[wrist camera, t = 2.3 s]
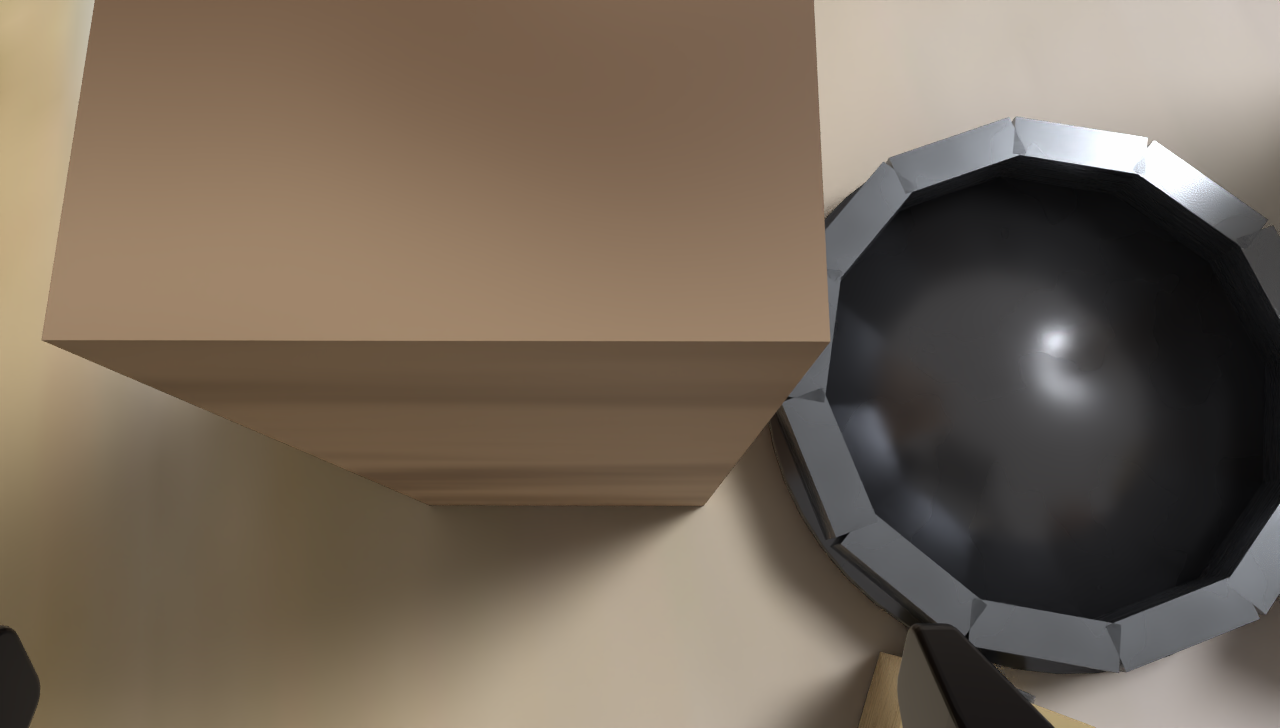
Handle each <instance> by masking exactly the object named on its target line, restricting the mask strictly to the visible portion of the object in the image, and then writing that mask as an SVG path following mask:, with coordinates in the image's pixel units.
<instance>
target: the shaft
mask: <svg viewBox="0 0 1280 728" xmlns="http://www.w3.org/2000/svg"><path fill="white" fill-rule="evenodd" d="M901 660H902V657H899V656H895V655H890V654H886V653H882V652H880V654H879V657H878V661H877V664H876V668H875V671H874V674H873V678H872V681H871V685H870V688H869V692H868V695H867V698H866V702H865V705H864V709H863V712H862V716H861V719H860V722H859V726H858V728H903V726H902V720H901V715H900V709H899V703H898V695H897V680H898V674H899V670H900V665H901ZM1016 689H1017V688H1016ZM1017 690H1018V691H1019V692H1020V693H1021V694H1022V695H1023V696H1024V697H1025V698H1026V699H1027V700H1028V701H1029V702H1030V703H1031V704H1032V705H1033V706H1034V707H1035V708H1036V709H1037V710H1038V711H1039V712H1040V713H1041V714H1042V715H1043V716H1044V717H1045V718H1046V719H1047V720H1048V721H1049V722H1050V723H1051V724H1052V725H1053V726H1054V727H1055V728H1096V727H1093V726H1091V725H1088V724H1085V723H1083V722H1080V721H1077V720H1075V719H1072V718H1069V717H1067V716H1064V715H1061V714H1059V713H1056V712H1053V711H1051V710H1048V709H1045V708H1042V707H1040V706H1037V705H1034V701H1035V696H1033V695H1031V694H1029V693H1026V692H1024V691H1022V690H1019V689H1017Z"/></svg>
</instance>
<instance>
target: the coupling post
mask: <svg viewBox="0 0 1280 728" xmlns="http://www.w3.org/2000/svg"><path fill="white" fill-rule="evenodd" d="M42 340H43V341H45V342H47V343H50V344H52V345H54V346H57V347H59V348H61V349H64V350H66V351H68V352H71V353H73V354H75V355H78V356H80V357H82V358H85V359H87V360H90V361H92V362H94V363H97V364H99V365H101V366H104V367H106V368H108V369H111V370H113V371H115V372H118V373H120V374H122V375H125V376H127V377H129V378H132V379H134V380H137V381H139V382H141V383H144V384H146V385H148V386H151V387H153V388H155V389H158V390H160V391H162V392H165V393H167V394H169V395H172V396H174V397H176V398H179V399H181V400H184V401H186V402H188V403H191V404H193V405H195V406H198V407H200V408H202V409H205V410H207V411H209V412H212V413H214V414H216V415H219V416H221V417H223V418H226V419H228V420H230V421H233V422H235V423H238V424H240V425H242V426H245V427H247V428H249V429H252V430H254V431H256V432H259V433H261V434H263V435H266V436H268V437H270V438H273V439H275V440H277V441H280V442H282V443H285V444H287V445H289V446H292V447H294V448H296V449H299V450H301V451H303V452H306V453H308V454H310V455H313V456H315V457H317V458H320V459H322V460H324V461H327V462H329V463H331V464H334V465H336V466H339V467H341V468H343V469H346V470H348V471H350V472H353V473H355V474H357V475H360V476H362V477H364V478H367V479H369V480H371V481H374V482H376V483H378V484H381V485H383V486H386V487H388V488H390V489H393V490H395V491H397V492H400V493H402V494H404V495H407V496H409V497H411V498H414V499H416V500H418V501H421V502H423V503H425V504H428V505H501V506H704V505H705V503H706V502H707V501H708V500H709V498H710V497H711V496H712V494H713V493H714V492H715V490H716V489H717V488H718V487H719V485H720V484H721V483H722V481H723V480H724V479H725V477H726V476H727V475H728V474H729V472H730V471H731V470H732V468H733V467H734V466H735V465H736V463H737V462H738V461H739V459H740V458H741V457H742V455H743V454H744V453H745V452H746V450H747V449H748V448H749V446H750V445H751V444H752V442H753V441H754V440H755V439H756V437H757V436H758V435H759V433H760V432H761V431H762V430H763V428H764V427H765V426H766V424H767V423H768V422H769V420H770V419H771V418H772V417H773V415H774V414H775V413H776V411H777V410H778V409H779V407H780V406H781V405H782V404H783V402H784V401H785V400H786V398H787V397H788V396H789V395H790V393H791V392H792V391H793V389H794V388H795V387H796V385H797V384H798V383H799V382H800V380H801V379H802V378H803V376H804V375H805V374H806V372H807V371H808V370H809V369H810V367H811V366H812V365H813V363H814V362H815V361H816V360H817V358H818V357H819V356H820V354H821V353H822V352H823V350H824V349H825V348H826V347H827V345H828V344H829V343H830V324H829V303H828V283H827V262H826V242H825V221H824V201H823V180H822V160H821V139H820V119H819V98H818V78H817V57H816V37H815V16H814V0H95V3H94V10H93V16H92V22H91V29H90V35H89V41H88V48H87V54H86V61H85V67H84V73H83V80H82V86H81V92H80V99H79V105H78V111H77V118H76V124H75V131H74V137H73V143H72V150H71V156H70V162H69V169H68V175H67V181H66V188H65V194H64V201H63V207H62V213H61V220H60V226H59V232H58V239H57V245H56V252H55V258H54V264H53V271H52V277H51V283H50V290H49V296H48V302H47V309H46V315H45V322H44V328H43V334H42Z"/></svg>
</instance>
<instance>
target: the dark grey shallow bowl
mask: <svg viewBox="0 0 1280 728" xmlns="http://www.w3.org/2000/svg"><path fill="white" fill-rule="evenodd" d="M824 221H825V242H826V262H827V283H828V303H829V324H830V343H829V344H828V345H827V347H826V348H825V349H824V350H823V352H822V353H821V354H820V356H819V357H818V358H817V360H816V361H815V362H814V363H813V365H812V366H811V367H810V369H809V370H808V371H807V372H806V374H805V375H804V376H803V378H802V379H801V380H800V382H799V383H798V384H797V385H796V387H795V388H794V389H793V391H792V392H791V393H790V395H789V396H788V397H787V398H786V400H785V401H784V402H783V404H782V405H781V406H780V407H779V409H778V410H777V411H776V413H775V414H774V415H773V417H772V418H771V419H770V420H769V426H770V431H771V436H772V442H773V447H774V450H775V453H776V456H777V459H778V462H779V466H780V469H781V472H782V475H783V478H784V481H785V483H786V485H787V487H788V490H789V492H790V494H791V496H792V498H793V500H794V502H795V504H796V506H797V508H798V511H799V513H800V515H801V516H802V518H803V520H804V521H805V523H806V524H807V526H808V527H809V529H810V531H811V532H812V534H813V535H814V537H815V538H816V540H817V541H818V543H819V545H820V546H821V548H822V549H823V550H824V551H825V552H826V554H827V555H828V556H829V557H830V558H831V560H832V561H833V562H834V563H835V564H836V566H837V567H838V568H839V569H840V570H841V572H842V573H843V574H844V575H845V576H846V577H847V578H848V579H849V580H850V581H851V582H852V583H853V584H854V585H855V586H856V587H857V588H858V589H860V590H861V591H862V592H863V593H864V594H865V595H866V596H867V597H868V598H869V599H870V600H871V601H872V602H873V603H875V604H876V605H877V606H879V607H880V608H882V609H883V610H884V611H886V612H887V613H888V614H890V615H891V616H893V617H894V618H895V619H897V620H898V621H899V622H901V623H902V624H904V625H905V626H907V627H909V628H910V627H911V626H912V625H914V624H917V623H946V624H950V625H952V626H954V627H956V628H957V629H958V630H959V631H960V632H961V633H962V634H963V635H964V636H965V637H966V638H967V639H968V640H969V641H970V642H971V643H972V644H973V645H974V646H975V647H976V648H977V649H978V650H979V651H980V652H981V653H982V654H983V655H984V656H985V657H986V658H987V659H988V660H989V661H990V662H991V663H995V664H999V665H1003V666H1007V667H1011V668H1015V669H1021V670H1029V671H1038V672H1047V673H1056V674H1072V673H1099V672H1106V671H1110V672H1116V673H1119V671H1122V672H1128V671H1131V670H1133V669H1136V668H1138V667H1141V666H1143V665H1146V664H1148V663H1151V662H1153V661H1156V660H1158V659H1161V658H1163V657H1167V656H1170V655H1172V654H1174V653H1176V652H1178V651H1181V650H1183V649H1186V648H1188V647H1191V646H1193V645H1196V644H1198V643H1201V642H1203V641H1206V640H1208V639H1211V638H1213V637H1216V636H1218V635H1221V634H1223V633H1226V632H1228V631H1231V630H1233V629H1236V628H1238V627H1241V626H1243V625H1246V624H1248V623H1251V622H1253V621H1256V620H1258V619H1260V618H1259V616H1258V614H1266V613H1267V612H1268V610H1269V609H1270V607H1271V606H1272V604H1273V603H1274V601H1275V600H1276V598H1277V597H1278V595H1279V594H1280V237H1279V235H1278V233H1277V231H1276V230H1275V228H1274V226H1270V227H1267V228H1264V229H1262V227H1263V226H1264V225H1265V223H1266V222H1267V221H1268V219H1266V218H1265V217H1264V216H1262V215H1261V214H1259V213H1258V212H1256V211H1255V210H1253V209H1252V208H1251V207H1249V206H1248V205H1246V204H1245V203H1243V202H1242V201H1241V200H1239V199H1238V198H1236V197H1235V196H1233V195H1232V194H1231V193H1229V192H1228V191H1226V190H1225V189H1223V188H1222V187H1220V186H1219V185H1218V184H1216V183H1215V182H1213V181H1212V180H1210V179H1209V178H1208V177H1206V176H1205V175H1203V174H1202V173H1200V172H1199V171H1198V170H1196V169H1195V168H1193V167H1192V166H1190V165H1189V164H1187V163H1186V162H1185V161H1183V160H1182V159H1180V158H1179V157H1177V156H1176V155H1175V154H1173V153H1172V152H1170V151H1169V150H1167V149H1166V148H1164V147H1163V146H1162V145H1160V144H1159V143H1157V142H1156V141H1153V142H1152V143H1151V144H1149V145H1148V146H1147V138H1146V137H1140V136H1134V135H1128V134H1121V133H1115V132H1109V131H1103V130H1096V129H1090V128H1084V127H1078V126H1072V125H1065V124H1059V123H1053V122H1047V121H1040V120H1034V119H1028V118H1022V117H1015V118H1014V120H1013V121H1012V122H1011V120H1010V118H1009V117H1008V118H1005V119H1002V120H999V121H996V122H993V123H990V124H987V125H984V126H981V127H979V128H976V129H973V130H970V131H967V132H964V133H961V134H958V135H955V136H952V137H949V138H946V139H943V140H940V141H937V142H934V143H932V144H929V145H926V146H923V147H920V148H917V149H914V150H911V151H908V152H905V153H902V154H899V155H896V156H893V157H890V158H889V159H888V161H887V162H886V163H885V162H883V163H882V164H881V165H880V166H879V167H878V169H877V170H876V171H875V172H874V173H873V174H872V176H871V177H870V178H869V179H868V180H867V182H866V183H864V184H863V185H862V186H860V187H859V188H858V189H857V190H855V191H854V192H853V193H851V194H850V195H849V196H848V197H846V198H845V199H844V200H843V201H842V202H841V203H840V204H839V205H838V206H837V207H836V208H835V210H834V211H833V212H832V213H831V214H830V215H829V216H828V217H827V218H826V219H825V220H824Z"/></svg>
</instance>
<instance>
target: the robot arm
mask: <svg viewBox="0 0 1280 728" xmlns="http://www.w3.org/2000/svg"><path fill="white" fill-rule="evenodd" d="M897 695H898V703H899V709H900V715H901V720H902V726H903V728H1055V727H1054V726H1053V725H1052V724H1051V723H1050V722H1049V721H1048V720H1047V719H1046V718H1045V717H1044V716H1043V715H1042V714H1041V713H1040V712H1039V711H1038V710H1037V709H1036V708H1035V707H1034V706H1033V705H1032V704H1031V703H1030V702H1029V701H1028V700H1027V699H1026V698H1025V697H1024V696H1023V695H1022V694H1021V693H1020V692H1019V691H1018V690H1017V689H1016V688H1015V687H1014V686H1013V685H1012V684H1011V683H1010V682H1009V681H1008V680H1007V678H1006V677H1005V676H1004V675H1003V674H1002V673H1001V672H1000V671H999V670H998V669H997V668H996V667H995V666H994V665H993V664H992V663H991V662H990V661H989V660H988V659H987V658H986V657H985V656H984V655H983V654H982V653H981V652H980V651H979V650H978V649H977V648H976V647H975V646H974V645H973V644H972V643H971V642H970V641H969V640H968V639H967V638H966V637H965V636H964V635H963V634H962V633H961V632H960V631H959V630H958V629H957V628H956V627H954V626H952V625H950V624H946V623H917V624H914V625H912V626H911V627H910V629H909V631H908V633H907V637H906V642H905V646H904V651H903V656H902V660H901V665H900V670H899V674H898V680H897ZM39 696H40V682H39V678H38V675H37V673H36V671H35V669H34V667H33V665H32V663H31V661H30V659H29V657H28V655H27V653H26V651H25V649H24V647H23V645H22V643H21V641H20V639H19V637H18V635H17V633H16V632H15V631H14V630H13V629H12V628H10V627H9V626H4V625H0V728H29V726H30V723H31V720H32V718H33V715H34V713H35V710H36V708H37V705H38V701H39Z"/></svg>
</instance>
